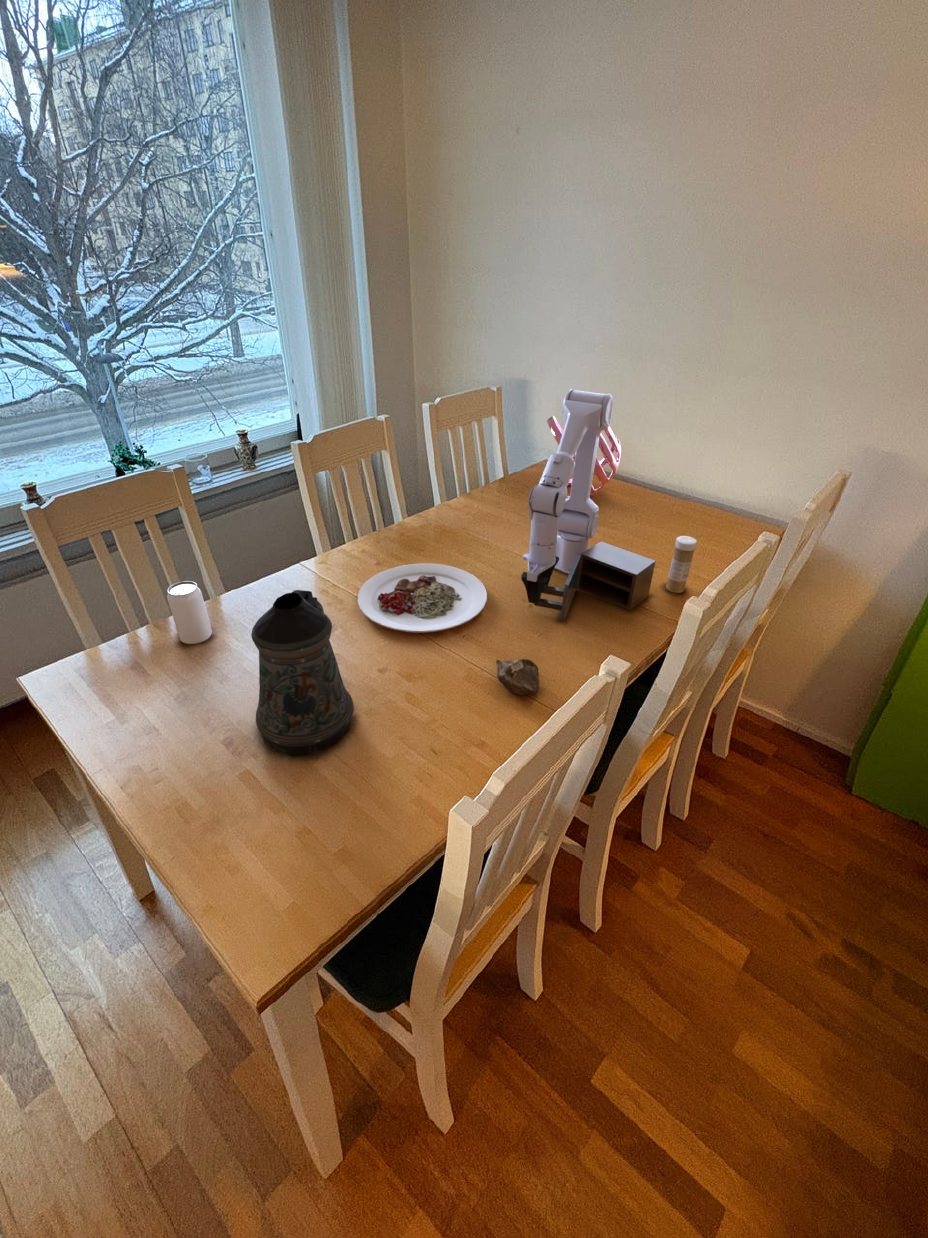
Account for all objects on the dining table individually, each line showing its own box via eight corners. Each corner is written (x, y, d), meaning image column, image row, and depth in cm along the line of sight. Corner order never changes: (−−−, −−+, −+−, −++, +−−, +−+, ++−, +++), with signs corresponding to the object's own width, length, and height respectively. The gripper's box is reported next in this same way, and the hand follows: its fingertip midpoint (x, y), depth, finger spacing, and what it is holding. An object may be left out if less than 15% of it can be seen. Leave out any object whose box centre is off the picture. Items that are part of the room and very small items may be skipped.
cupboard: (629, 611, 137) (636, 574, 131) (576, 588, 145) (580, 553, 139) (648, 596, 142) (655, 560, 137) (595, 575, 150) (601, 541, 145)
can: (219, 631, 128) (206, 583, 122) (198, 647, 123) (184, 598, 116) (194, 625, 130) (180, 577, 123) (173, 641, 125) (157, 592, 118)
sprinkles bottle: (676, 583, 148) (688, 533, 140) (688, 592, 144) (701, 542, 136) (661, 586, 146) (672, 536, 139) (672, 595, 143) (684, 545, 135)
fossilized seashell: (486, 662, 116) (500, 701, 109) (506, 639, 113) (521, 678, 106) (515, 671, 120) (530, 709, 113) (535, 649, 117) (552, 688, 110)
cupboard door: (531, 614, 135) (534, 578, 130) (546, 583, 146) (549, 550, 141) (563, 621, 133) (568, 585, 128) (576, 589, 144) (580, 555, 139)
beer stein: (266, 770, 96) (235, 646, 82) (251, 696, 111) (222, 580, 97) (365, 741, 102) (352, 620, 88) (338, 675, 116) (323, 562, 102)
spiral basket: (512, 441, 178) (594, 388, 169) (519, 436, 204) (590, 391, 195) (558, 521, 183) (640, 474, 175) (559, 507, 209) (630, 466, 201)
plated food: (512, 600, 140) (513, 587, 138) (420, 656, 122) (420, 642, 120) (424, 558, 157) (424, 546, 155) (331, 601, 139) (330, 589, 137)
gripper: (535, 523, 134) (530, 576, 141) (514, 550, 122) (511, 606, 130) (565, 528, 131) (559, 581, 139) (548, 557, 120) (542, 613, 128)
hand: (538, 594), depth 134 cm, fingers open, 7 cm apart
